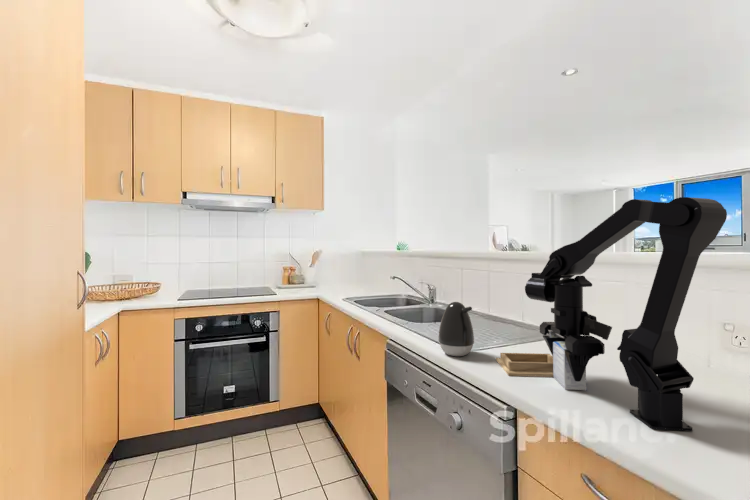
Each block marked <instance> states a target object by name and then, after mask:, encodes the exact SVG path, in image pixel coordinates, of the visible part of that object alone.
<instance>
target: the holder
mask: <svg viewBox="0 0 750 500" xmlns="http://www.w3.org/2000/svg"><path fill="white" fill-rule="evenodd" d="M495 361H496V362H497V363H498V364H499V365H500V367H501V368H502V370H503V371H504V372H505V373H506V374H507V376H509V377H537V378H538V377H541V378H542V377H543V378H544V377H545V378H554V376H553V356H552V354H550V353H531V352H529V353H527V352H525V353H523V352H500V357H495Z"/></svg>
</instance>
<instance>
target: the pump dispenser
mask: <svg viewBox="0 0 750 500" xmlns="http://www.w3.org/2000/svg"><path fill="white" fill-rule="evenodd" d="M472 310H473V307H472V306H466V307H465V305H464V304H463V303H461V302H459V301H452V302H449V304H448V305H447V306H446V308H445V310H444V312H443V315H442V317H441V320H440V325H439V331H438V335H437V337H438V343H439V345H440V348H441V350H442V352H444V353H445V354H446V355H448V356H451V357H463V356H466V355H468V354H469V353H471V351H472V349H473V346H474V344H475V334H474V327H473V324H472V319H471V317H470V314H469V312H470V311H472Z"/></svg>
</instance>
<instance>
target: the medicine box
mask: <svg viewBox="0 0 750 500" xmlns="http://www.w3.org/2000/svg"><path fill="white" fill-rule="evenodd" d="M564 349H566V346H565V342H563V341H557V342H553V376H554V377H553V378H554V379H555V380H556V381H557V382H558V383H559V384H560V385H561V386H562V387H563V388H564V390H568V391H583V392H585V391H587V367H586V368H585V371H584V373H583V376H582V379H581V381H575V380H574V377H573V375H572V372H571V369H570V366H569V363H568V360H567V357H566V354H565V351H564Z"/></svg>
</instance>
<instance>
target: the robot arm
mask: <svg viewBox="0 0 750 500" xmlns="http://www.w3.org/2000/svg"><path fill="white" fill-rule="evenodd" d="M727 215H728V211H727V209H726V208H725V207H724V206H723V204H722V203H721V202H719V201H717V200H715V199H710V198H702V197H689V196H686V197H685V196H684V197H683V196H681V197H677V198H673V199H672V200H670V201H669V202H662V201H652V200H649V199H638V198H637V199H636V198H633V199H629V200H627V201H625V202H624V203H623V204H622V205H621V207H620V208H619V209H617V211H615V212H613V214H611V215H610V216H609V217H607V218H606V219H605V220H603V221H602V222H601V223H599V224H598V225H597V226H596V227H594V228H593V229H592V230H591V231H589V232H588V233H587V234H585V235H583V237H582V238H580V239H578V240H577V241H575V242H572V243H569V244H566V245H563V246H561V247H560V248H557V249H556V250H553V251H552V252H551V253H550V254H549V257H548V261H547V263H546V265H544V268H543V269H542V271H541V272H531V277H530V278H529V279H528V280H527V281H526V284H525V286H524V292H525V295H526V297H528V298H529V299H530V300H534V301H541V302H546V303H553V307H550V313H552V314H553V315H554V317H553V318H554V319H553V320H554V321H542V322H541V323H540V324H539V333H540V334H541V335H542V338H543V339H544V341H545V343H546V345H547V347H548V350H549V351H550V353H551V354H550V355H551V356H553V342H557V341H563V342H565V346H566V349H564V351H565V354H566V357H567V360H568V363H569V366H570V369H571V372H572V375H573V377H574V380H575V381H581V379H582V376H583V373H584V371H585V368H586V369H587V365H588V363H589V361H590V360H592V358H594V357H598V356H599V355H604V354H605V348H606V347H605V343H604V342H603V341H602V340H600V339H599V338H601V339H603V340H605V341H608V339H609V337H610V335H611V332H612V330H613V326H611V325H608V324H606V323H603V322H600V321H597V317H596V316H595V315H592V314H590V313H588V312H587V311H585V310H584V302H583V301H584V300H583V299H584V291H583V290H584V288H586V287H587V288H591V287H593V283H592V282H591V281H590V280H588V279H587V278H586V276H585V275H583V274H585V273H586V272H587V271H588V270H589V269H590V268H591V267H592V266H593V265H594V263H595V261H596V259H597V258H598V256H599V255H600V254H602V253H603V252H605V251H606V250H608V248H610V247H611V246H613V245H615V244H616V243H618V242H619V241H621V240H622V239H623V238H625V237H626V236H628V235H629V234H631V233H632V232H633V231H635V230H637V229H638V228H639V227H641V226H642V225H644V224H645V223H649V224H657V225H659V226H658V233H659V237H660V241H661V245H662V252H661V256H660V259H659V262H658V266H657V268H656V271H655V276H654V279H653V282H652V284H651V288H650V291H649V296H648V298H647V303H646V304H645V309H644V312H643V315H642V318H641V321H640V324H639V325H638V327H636V328H630V329H629V328H627V329H624V330H623V332H622V334H621V341H620V344H619V345H618V347H617V348H616V350H618V351H619V361H620V362H621V364H622V366H623V369H624V371H625V374H626V377H627V381H628V383H629V385H630V386H632V387H634V388H637V409H632V408H631V409H629V413H630V414H631V415H633V416H634V417H636V419H638V420H640V421H641V422H642V423H644V425H646V426H648V427H649V428H651V429H653V430H661V431H664V430H665V431H689V432H693V427H692V426H691V425H689V424H688V423H686V422H685V421H684V419H683V418H684V416H683V415H684V414H683V413H684V412H683V411H684V410H683V409H684V407H683V406H684V405H683V401H684V398H683V397H684V394H683V393H682V389H689V388H691V385H692V384H693V382H694V377H693V376H692V375H691V373H690V372H689V371H688V370H687V369H686V368H685V367H684V366H683V364H682V363H681V362H680V361H679V360H678V353H679V345H678V341H677V338H676V335H675V332H676V329H677V328H676V327H677V326H678V325H677V324H678V322H679V318H680V315H681V313H682V309H683V307H684V304H685V301H686V298H687V294H688V292H689V289H690V286H691V282H692V280H693V277H694V273H695V271H696V267H697V264H698V261H699V259H700V256H701V254H702V253H703V252H704V251H705V250H706V249H707V248H708V247H709V246H710V244H712V243H713V242H714V241H715V240H716V238H717V237H718V235H719V233H720V231H721V230H722V229H723V228H722V227H723V226H724V224H725V222H726V220H727V217H728V216H727ZM590 334H591V335H590ZM593 335H594V336H597V337H599V338H596V337H594V336H593Z"/></svg>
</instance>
